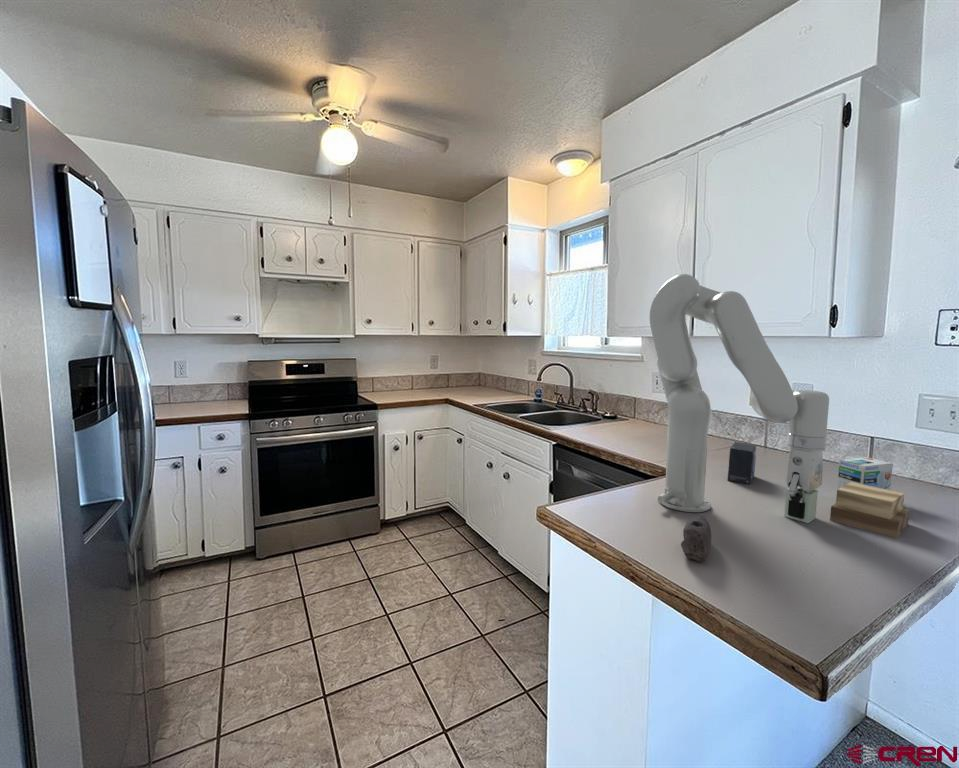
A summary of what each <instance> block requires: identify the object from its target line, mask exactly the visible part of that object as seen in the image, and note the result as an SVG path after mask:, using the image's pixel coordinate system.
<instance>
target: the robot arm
mask: <svg viewBox="0 0 959 768" xmlns="http://www.w3.org/2000/svg"><path fill="white" fill-rule="evenodd" d="M686 316H689V317H691V318H694V319H697V320H700V321H702V322H704V323H708V324H711V325H714V328H715V330H716V332H717V334H718V336H719V338H720V339H719V340H720V341H721V343H722V345H723V347H724V350H725V351H726V352H725V353H726V355H727V356H728V358H729V360H730V361H731V363H732V364H733V365H734V367H735V368H736V369H737V370H738V371H739V372H740V373H741V375H742V376H743V378H744V379H745V380H746V382H747V384H748V386H749V387H750V389H751V392H752V393H753V394H752V396H751V399H750V404H751V408H752V409H753V411H754V412H755V413H756V414H757V415H759V417H762V418H763V419H765V420H767V421H769V422H771V423H773V424H785V423H787V438H786V446H787V447H788V448H789V454H788V460H787V467H786V477H785V478H786V479H785V483H786V487H787V488H789V490H788V492H789V506H788V515H789V516H792V517H796V518H800V519H803V518H804V513H805V503H804V497H805V491H806V492H811V491H813V490H817V489H818V488H819V487H821V486H822V483H823V465H824V463H823V462H824V458H823V455H824V454H823V452H824V451H826V444H827V443H826V441H827V431H828V419H829V409H830V407H829V405H830V396H829V395H828V394H827V393H826V392H823V391H818V390H807V389H806V390H803V389H800V390H793V389H792V387H791V385H790V382H789V380H788V378H787V377H786V374H785V372H784V370H783V369H782V367H781V366H780V364H779V362H778V361H777V360H776V358H775V356H774V353H773V352H772V351H771V349H770V347H769V345H768V344H767V342H766V340H765V338H764V336H763V334H762V331H761V329H760V328H759V325H758V323H757V321H756V319H755V316H754V314H753V313H752V310H751V308H750V306H749V304H748V302H747V300H746V298H745V297H744V295H742V294H741V293H739V292H737V291H733V290H729V291H728V290H727V291H723V292H722V291H717V290H715V289H711V288H708V287H705V286H703V285H700V282H699V280H697V278H695V276H693V275H691V274H686V273H681V274H677V275H675V276H672V277H671V278H670V279H668V280H667V281H666V282H665V283H664V284H663V285H662V286H661V287H660V288H659V290H657V292H656V294H655V295H654V297H653V300H652V302H651V305H650V309H649V325H650V330H651V334H652V339H653V344H654V348H655V351H656V355H657V356H656V357H657V369H658V373H659V376H660V380H661V383H662V387H663V391H664V394H665V398H666V401H667V405H668V418H667V419H668V421H667V437H666V438H667V439H666V463H665V464H666V465H665V484H664V485H665V487H664V492H662V493H660V494H659V495H658V496H657V501H658V502H659V503H660V504H661V505H662V506H664V507H667V508H669V509H671V510H675V511H680V512H685V513H703V512H707V511H708V510H710V508H711V507H712V506H711V505H712V504H711V502H710V500H709V499H707V498H706V497H705V493H706V491H705V490H706V474H707V473H706V472H707V457H708V456H707V454H708V434H709V426H710V419H711V410H712V409H711V402H710V399H709V396H708V395H707V394H706V392H705V391H704V390H703V388H702V385H701V381H700V377H699V373H698V370H697V368H698V360H697V356H696V354H695V351H694V348H693V346H692V345H693V344H692V341H691V338H690V334H689V330H688V325H687V321H686ZM798 486H799V487H802V489H798ZM797 491H799V492H801V495H800V494H799V493H797Z"/></svg>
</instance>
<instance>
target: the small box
mask: <svg viewBox="0 0 959 768" xmlns="http://www.w3.org/2000/svg"><path fill="white" fill-rule="evenodd" d="M728 458H729V459H728V471H727V481H728V480H729V481H731V482H735V483H740V484H746V485H751V483H752V481H753V480H754V477H755V472H756V471H755V470H756V458H757V445H756V444H751V443H745V442H738V441H735V442H733V444H732V445H731V446H730V448H729V456H728ZM729 481H728V482H729Z"/></svg>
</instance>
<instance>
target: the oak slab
mask: <svg viewBox="0 0 959 768" xmlns="http://www.w3.org/2000/svg"><path fill="white" fill-rule="evenodd" d="M904 500H905V492H901V491H894V490H891V489H890V490H887V489H882V488H878V487H873V486H868V485H864V484H859V483H854V482H850V483H848V484H846V485H845V486H843V487H841V488H839V489H837V488H836V498H835V503H836V506H840V507H844V508H848V509H852V510H855V511H859V512H863V513H867V514H871V515H875V516H879V517H883V518H887V519H891V518H893V517H894V516H895V515H896V514H898V513H899V512H900V511H901V510H903V509H904Z"/></svg>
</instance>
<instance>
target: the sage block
mask: <svg viewBox="0 0 959 768" xmlns="http://www.w3.org/2000/svg"><path fill="white" fill-rule="evenodd" d="M798 489H802V487H799V486H798ZM788 490H789V487H787V489H785V505H784V517H785V518H789V519H792V520H796V521H799V522H803V523H805V524H809V523H810V522H812V521H814V520H815V519H816V518H817V517H816V515H817V507H818V506H817V505H818V494H819V492H818V490H817V489H815V490H813V491H811V492H806V491H805V497H804V503H805V513H804V518H803V519H800V518H796V517H792V516H789V515H788V506H789V492H788ZM797 493H799V494H800V495H801V492H799V491H797Z"/></svg>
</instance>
